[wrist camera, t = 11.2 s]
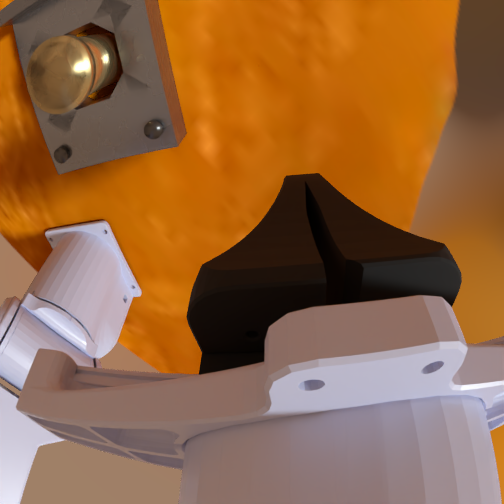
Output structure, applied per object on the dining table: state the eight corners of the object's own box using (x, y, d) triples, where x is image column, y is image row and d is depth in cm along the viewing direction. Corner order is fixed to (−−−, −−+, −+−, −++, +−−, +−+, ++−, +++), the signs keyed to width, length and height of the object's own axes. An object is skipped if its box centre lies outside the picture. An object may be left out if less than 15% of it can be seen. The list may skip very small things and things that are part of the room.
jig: (186, 133, 21) (172, 155, 18) (73, 160, 22) (48, 184, 19) (148, -48, 12) (124, -60, 9) (30, 8, 13) (-4, 13, 10)
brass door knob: (141, 76, 18) (101, 97, 13) (87, 97, 19) (40, 125, 14) (124, 19, 15) (77, 21, 10) (70, 44, 16) (17, 59, 11)
